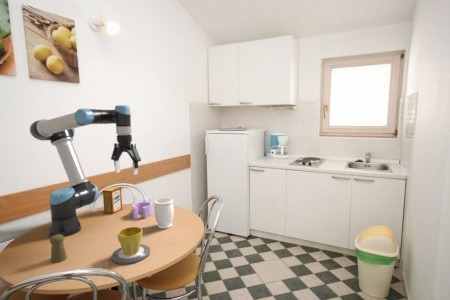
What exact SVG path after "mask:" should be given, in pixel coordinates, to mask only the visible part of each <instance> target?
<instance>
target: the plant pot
mask: <svg viewBox="0 0 450 300" xmlns="http://www.w3.org/2000/svg"><path fill="white" fill-rule="evenodd" d="M143 233H144V232H143V228H141V227H140V226H129V227H125V228H122V229H120V230H118V232H117V240H118V243H120V246H121V247H122V250H123V253H124V254H125V255H134V254H136V253H138V251H139V248H140V244H141V241H142V238H143ZM121 247H120V248H121Z"/></svg>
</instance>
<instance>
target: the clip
mask: <svg viewBox="0 0 450 300" xmlns="http://www.w3.org/2000/svg"><path fill="white" fill-rule="evenodd" d="M153 201H154V200H153V199H152V198H149V199H148V201H147V200H146V198H142V199H140V200H139V202H136V203H133V204H132V205H131V210H132V218H133V219H132V220H137V219H138V218H139V214H141V213H142V218H143V220H147V218H150V217H152V216H154V203H153Z"/></svg>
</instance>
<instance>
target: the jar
mask: <svg viewBox="0 0 450 300" xmlns="http://www.w3.org/2000/svg"><path fill="white" fill-rule="evenodd" d="M173 202H174V199H173V198H170V197H163V198H159V199H156V200H154V203H153V204H155V206H154V215H155V216H154V217H155V220H156V222H157V228H158V229H162V230H163V229H164V230H165V229H169V228H172V227H173V219H174V214H175V211H174V204H173Z"/></svg>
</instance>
